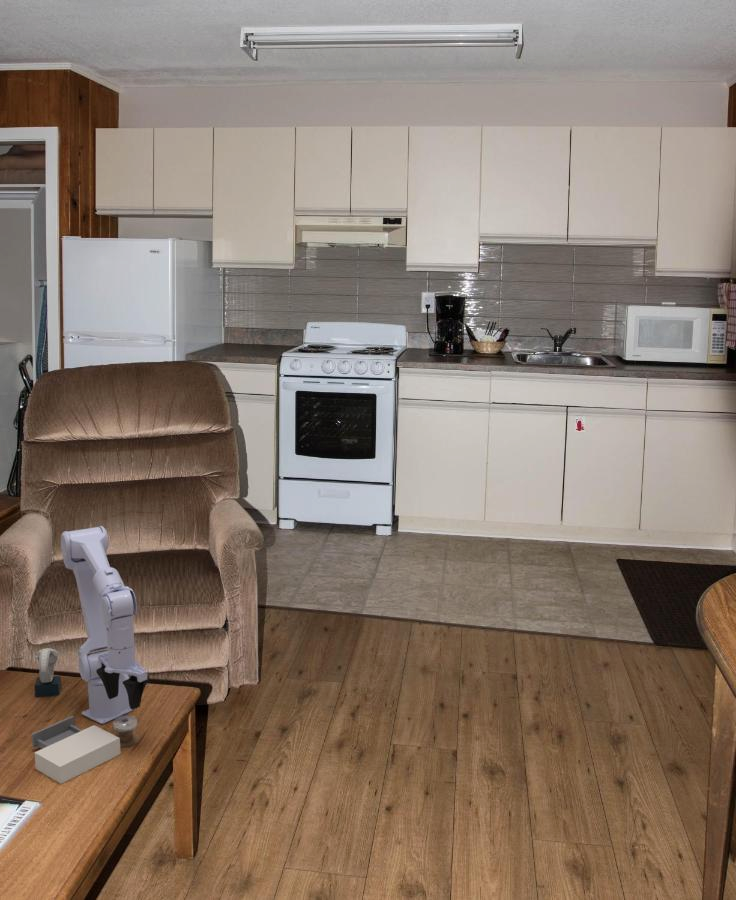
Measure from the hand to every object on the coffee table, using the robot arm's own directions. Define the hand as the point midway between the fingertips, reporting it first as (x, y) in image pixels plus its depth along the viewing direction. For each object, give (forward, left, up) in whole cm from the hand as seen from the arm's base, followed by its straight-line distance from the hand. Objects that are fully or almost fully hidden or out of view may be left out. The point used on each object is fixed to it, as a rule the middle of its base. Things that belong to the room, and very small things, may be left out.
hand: (124, 702), depth 208 cm
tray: (+10, -8, -8) cm, 15 cm away
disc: (0, 0, -6) cm, 6 cm away
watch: (-3, -34, -10) cm, 35 cm away
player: (+12, -1, -9) cm, 15 cm away
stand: (0, 0, -9) cm, 9 cm away
